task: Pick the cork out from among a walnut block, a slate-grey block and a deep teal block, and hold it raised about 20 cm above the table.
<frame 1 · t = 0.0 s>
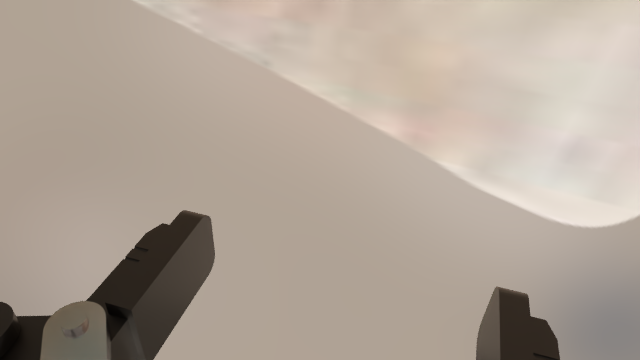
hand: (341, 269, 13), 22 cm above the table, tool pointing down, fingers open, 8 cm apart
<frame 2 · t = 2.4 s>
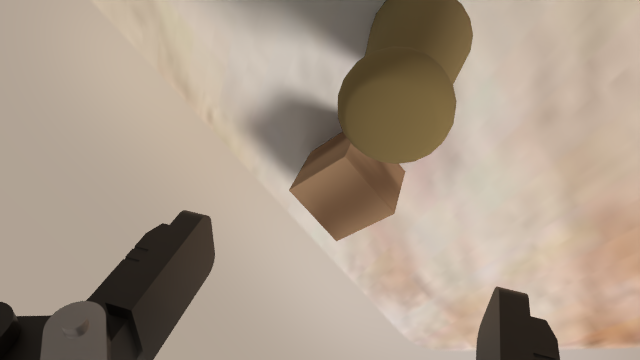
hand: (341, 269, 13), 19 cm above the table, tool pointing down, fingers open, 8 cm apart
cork: (420, 38, 28), on the table
walnut block: (357, 161, 35), on the table
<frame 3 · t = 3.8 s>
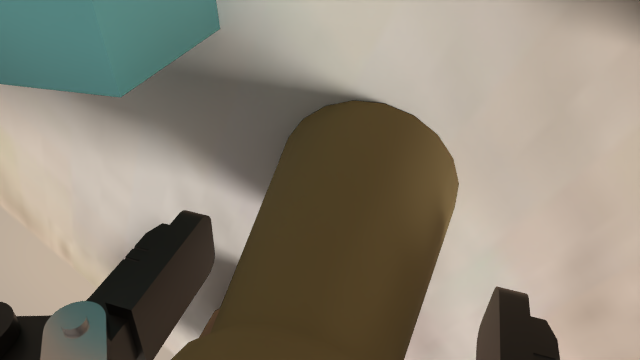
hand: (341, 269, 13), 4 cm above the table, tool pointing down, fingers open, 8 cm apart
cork: (367, 178, 16), on the table
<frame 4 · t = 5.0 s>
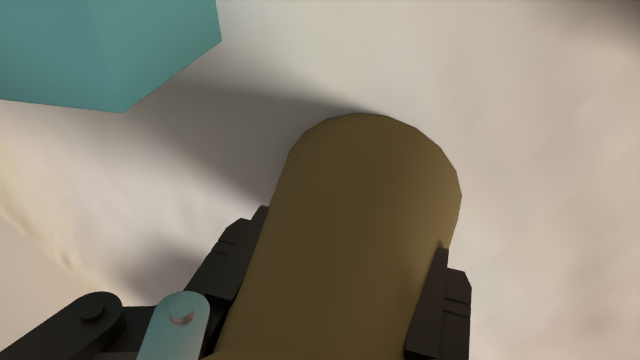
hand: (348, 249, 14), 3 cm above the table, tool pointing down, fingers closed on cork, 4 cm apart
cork: (369, 191, 16), on the table, touching gripper
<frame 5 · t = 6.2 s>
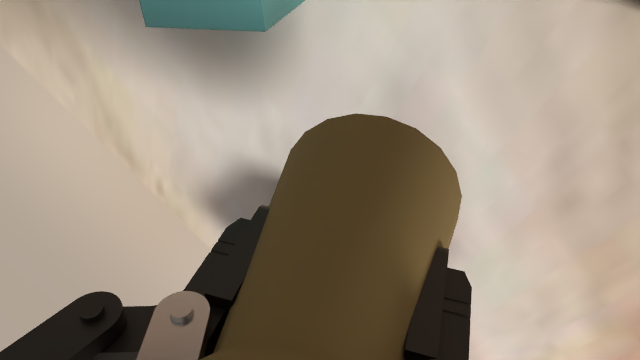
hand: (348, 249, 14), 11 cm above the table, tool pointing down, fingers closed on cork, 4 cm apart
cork: (369, 191, 16), point 8 cm above the table, touching gripper
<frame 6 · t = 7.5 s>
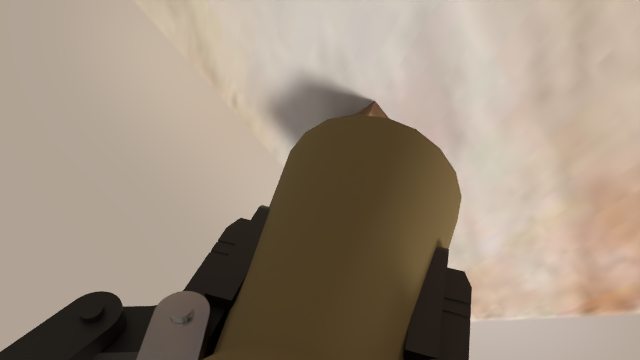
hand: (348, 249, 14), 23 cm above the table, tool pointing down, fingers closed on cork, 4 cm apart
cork: (369, 191, 16), point 20 cm above the table, touching gripper
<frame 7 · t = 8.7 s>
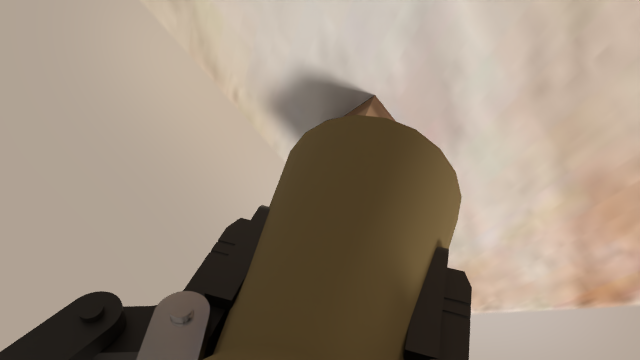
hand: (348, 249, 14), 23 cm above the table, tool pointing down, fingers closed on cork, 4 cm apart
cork: (369, 192, 16), point 20 cm above the table, touching gripper
walnut block: (369, 134, 38), on the table
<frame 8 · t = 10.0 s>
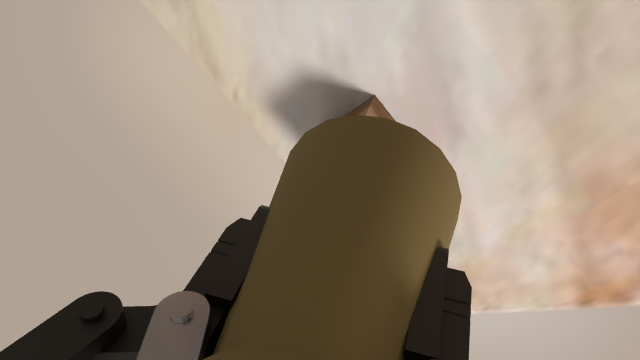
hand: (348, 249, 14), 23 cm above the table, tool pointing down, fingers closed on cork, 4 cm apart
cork: (369, 192, 16), point 20 cm above the table, touching gripper
walnut block: (369, 134, 38), on the table
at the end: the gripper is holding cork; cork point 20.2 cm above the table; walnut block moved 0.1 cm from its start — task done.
